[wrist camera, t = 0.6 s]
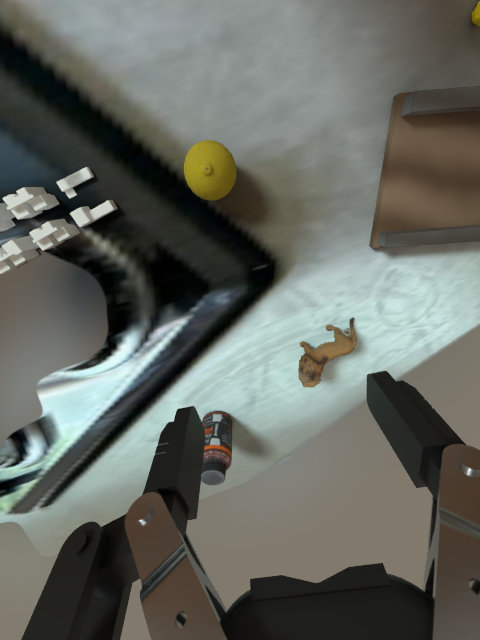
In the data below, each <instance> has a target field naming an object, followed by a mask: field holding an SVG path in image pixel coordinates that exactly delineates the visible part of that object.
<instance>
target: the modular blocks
mask: <svg viewBox="0 0 480 640" xmlns="http://www.w3.org/2000/svg"><path fill="white" fill-rule="evenodd" d="M93 177H94V175H93V174H92V172H91V170H90V168H89V167H85V168H83V169H81V170H79V171H78V172H76V173H74V174H72V175H70V176H68V177H66V178H64V179H62V180H60V181H58V182H56V183H57V184H58V186H59V187H60V189H61V190H62V191H65V193H66V194H67V196H68V197H69V199H70V198H72V197H74V196H76V195H77V194H76V193H75V191H74V189H73V187H75V186H77V185H79V184H81V183H83V182H85V181H87V180H89V179H91V178H93ZM16 192H17V193H18V194H10V195H8V196H6V197H4V198H3V200H4V201H5V202H6V203H1V204H0V232H1V231H6V230H8V229H10V228H12V227H14V226H16V225H15V224H14V222H13V221H12V220H11V219H12V218H14V217H16V218H17V219H25V218H32V217H34V216H36V215H38V214H40V213H42V212H43V211H42V210H48V209H50V208H52V207H54V206H56V205H59V202H58V201H57V199H56V198H55V196H54V195H51V194H47V193H46V191H45V190H44V188H43V187H23V188H21V189H20V190H18V191H16ZM116 209H118V208H117V207H116V205H115V203H114V202H113V200H108V201H106V202H104V203H103V204H101V205H99V206H97V207H96V208H94V209H92V210H91V209H90V208H89V206H87V207H80V208H78V209H76V210H75V211H73V212H71V213H70V214H71V216H72V217H73V219H74V220H75V221H76V223H77V224H78V226H79V227H82V226H86V225H89V224H91V223H92V222H94V221H96V220H98V219H100V218H101V217H103V216H105V215H107V214H109V213H111V212H112V211H114V210H116ZM41 226H42V228H37V229H34V230H33V231H31V232H29V234H30V236H25V237H21V238H17V239H12V240H10V241H9V242H7V243H5V244H3V245H2V247H3V248H0V274H2V273H4V272H7V271H10V270H13V269H16V268H19V267H20V266H22V265H24V264H26V263H28V262H27V261H30V260H33V259H35V258H37V257H38V256H40V255H42V254H41V252H40V251H39V250H37V248H39V247H40V248H41V249H42V250H43V251H44V250H47V249H50V248H53V247H56V246H57V245H59V244H61V243H63V242H65V241H64V240H67V239H70V238H72V237H74V236H75V235H77V234H79V233H80V232H79V230H78V229H77V228H76V226H75V225H72V224H68V223H67V222H66V220H65V219H59V220H54V221H48V222H46V223H45V224H43V225H41Z"/></svg>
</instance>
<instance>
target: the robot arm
mask: <svg viewBox="0 0 480 640" xmlns="http://www.w3.org/2000/svg"><path fill="white" fill-rule="evenodd" d="M367 403H368V406H369V409H370V411H371V413H372V415H373V416H374V418H375V420H376V421H377V423H378V425H379V426H380V428H381V430H382V431H383V433H384V435H385V436H386V438H387V440H388V441H389V443H390V445H391V446H392V448H393V450H394V451H395V453H396V455H397V456H398V458H399V460H400V461H401V463H402V465H403V466H404V468H405V470H406V471H407V473H408V475H409V476H410V478H411V480H412V481H413V483H414V485H415V486H416V488H420V487H426V486H427V487H428V489H429V490H430V492H431V493H432V495H433V497H432V506H431V518H430V530H429V541H428V552H427V560H426V567H425V574H424V584H423V590H422V589H420V588H419V587H417V586H415V585H414V584H412V583H410V582H408V581H406V580H404V579H402V578H399V577H397V576H394V575H391V574H387V573H386V571H385V568H384V565H383V563H379V564H371V565H362V566H354V567H348V568H346V569H345V570H343V571H341V572H339V573H337V574H335V575H333V576H331V577H329V578H327V579H325V580H324V581H322V582H320V583H312V582H308V581H304V580H300V579H295V578H291V577H286V576H282V575H279V576H272V577H263V578H255V579H250V586H251V590H249V591H247V592H246V593H244V594H243V595H242V596H240V597H239V598H238V599H237V600H236V601H235V602H234V603H233V604H232V606H231V607H230V608H229V609H228V611H227V610H226V608H225V606H224V604H223V602H222V600H221V598H220V596H219V595H218V593H217V591H216V589H215V588H214V586H213V584H212V582H211V581H210V579H209V577H208V575H207V573H206V571H205V569H204V567H203V565H202V563H201V562H200V559H199V557H198V555H197V553H196V551H195V549H194V547H193V545H192V543H191V542H190V539H189V537H188V535H187V533H186V527H187V520H192V519H196V517H197V509H198V501H199V492H200V483H201V474H202V465H203V457H204V448H205V430H204V427H203V424H202V422H201V420H200V418H199V415H198V413H197V411H196V409H195V407H194V406H191V407H186V408H181V409H178V410H177V412H176V415H175V419H174V422H169V423H168V424H167V425H166V426H165V428H164V429H163V431H162V432H161V435H160V438H159V442H158V446H157V448H156V452H155V455H154V459H153V462H152V465H151V469H150V472H149V476H148V479H147V482H146V486H145V489H144V492H143V494H142V496H140V497H139V498H138V499H137V500H136V501H135V502H134V503H133V504H132V505H131V507H130V508H129V510H128V512H127V514H125V515H123V516H122V517H120V518H118V519H116V520H114V521H112V522H110V523H108V524H106V525H104V526H102V527H101V526H100V525H99V524H98V523H96V522H88V523H85V524H83V525H81V526H80V527H78V528H77V529H76V530H75V531H74V532H73V533H72V534H71V535H70V536H69V537H68V538H67V540H66V541H65V543H64V544H63V546H62V548H61V550H60V552H59V554H58V557H57V559H56V561H55V564H54V566H53V568H52V571H51V573H50V575H49V578H48V580H47V582H46V584H45V587H44V589H43V591H42V594H41V596H40V598H39V600H38V603H37V605H36V607H35V610H34V612H33V614H32V616H31V619H30V621H29V624H28V626H27V628H26V630H25V633H24V635H23V637H22V639H21V640H120V637H121V633H122V628H123V624H124V619H125V614H126V610H127V605H128V600H129V596H130V591H131V587H132V583H133V582H134V581H136V580H138V579H141V583H142V590H141V591H140V600H141V605H142V608H143V612H144V615H145V619H146V623H147V626H148V629H149V633H150V637H151V640H480V450H478V449H476V448H474V447H471V446H468V445H466V444H465V443H464V442H463V441H462V440H461V439H460V438H459V437H458V435H457V434H456V433H455V432H454V431H453V430H452V429H451V428H450V427H449V425H448V424H447V423H446V422H445V421H444V420H443V419H442V418H441V416H440V415H439V414H438V413H437V412H436V411H435V410H434V409H432V406H431V405H430V404H429V403H428V402H427V401H426V400H425V399H424V397H423V396H422V395H421V394H420V393H419V392H418V391H417V389H416V388H414V387H413V386H411V385H409V384H408V383H406V382H404V381H403V380H402V381H397V382H396V381H395V380H394V379H393V378H392V376H391V375H390V374H389V373H388V372H387V371H382V372H376V373H371V374H368V375H367Z"/></svg>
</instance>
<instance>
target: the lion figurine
mask: <svg viewBox="0 0 480 640" xmlns="http://www.w3.org/2000/svg"><path fill="white" fill-rule="evenodd" d="M353 320H354V318H352V319H350V324H349V325H350V328H347V329H345V330H344V333H346V334H348V336H346V335H344V334H342V333H341V332H340V330H339V328H336V327H334V326H332V325H327V326H326V329H327V331H330V330H333V331H334V338H335V341H334V342H328V343H324V344H321V345H319V346H318V347H317V348H315V349H314V348H310V347H309V345H308V344H307V343H306V342H301V343H300V346H301V347H304V351H305V354H304V355H303V356H301V360H300V361H299V369H298V370H299V371H298V372H299V380H300V381H301V382H302V384H303V387H315V385H317V384H319V383H320V382H321V379H320V377H321V372H322V371H323V367H324V365H325V364H326V363H327V362H328V361H330V360H332V359H334V358H335V357H338V356H340V355H346V354H349V353H351V352H352V351H353V350H354V347H355V345H356V342H357V338H356V334H355V332H354V329H353ZM352 339H353V340H352Z"/></svg>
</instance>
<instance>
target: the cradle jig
mask: <svg viewBox="0 0 480 640" xmlns="http://www.w3.org/2000/svg"><path fill="white" fill-rule="evenodd" d="M473 241H480V86H475V87H462V88H449V89H437V90H424V91H415V92H408V93H400V94H398V95H396V96H394V99H393V106H392V112H391V118H390V124H389V130H388V136H387V142H386V148H385V154H384V160H383V167H382V173H381V179H380V185H379V191H378V197H377V203H376V209H375V215H374V221H373V228H372V234H371V240H370V247H373V248H379V247H386V248H387V247H401V246H416V245H430V244H444V243H458V242H473Z"/></svg>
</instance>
